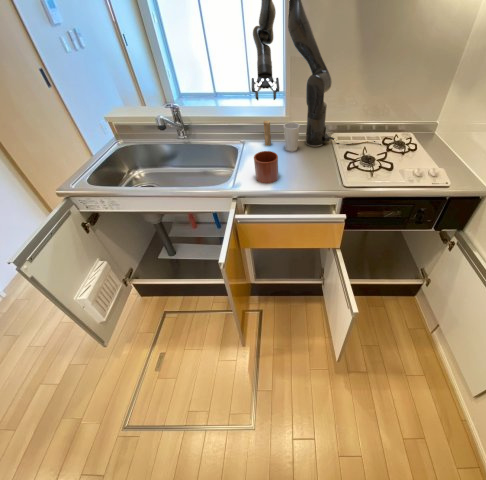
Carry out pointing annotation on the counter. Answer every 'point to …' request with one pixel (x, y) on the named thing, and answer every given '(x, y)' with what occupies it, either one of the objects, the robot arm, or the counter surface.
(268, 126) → the utensil
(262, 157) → the crock
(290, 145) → the cup
